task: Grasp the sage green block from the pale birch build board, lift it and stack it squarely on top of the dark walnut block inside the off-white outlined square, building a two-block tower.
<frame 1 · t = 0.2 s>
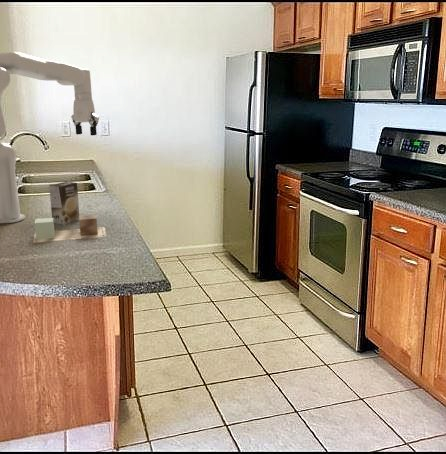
hand: (86, 134, 233), 31 cm above the counter, tool pointing down, fingers open, 9 cm apart
build board: (70, 237, 181), on the counter
coffee box: (66, 223, 200), on the counter
sage block: (45, 236, 179), point 1 cm above the counter, touching build board
walnut block: (88, 232, 183), point 1 cm above the counter, touching build board
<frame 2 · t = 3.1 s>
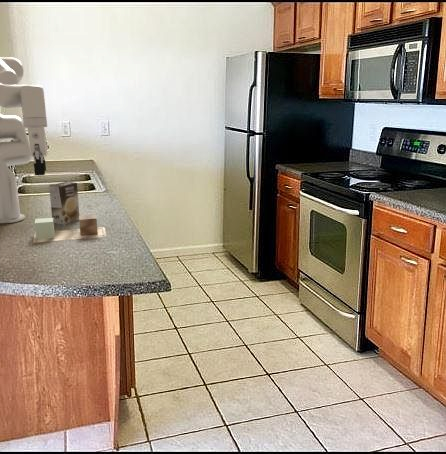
hand: (40, 172, 174), 24 cm above the counter, tool pointing down, fingers open, 9 cm apart
nothing on the counter moved.
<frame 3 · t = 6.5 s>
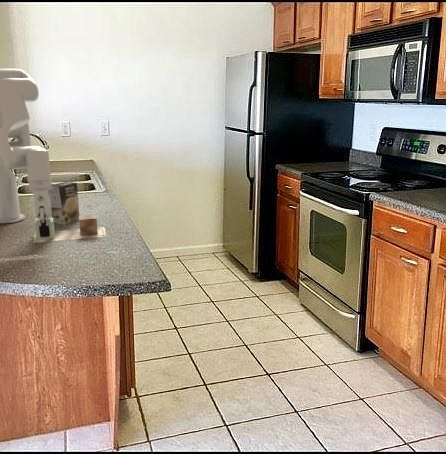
hand: (45, 233, 178), 2 cm above the counter, tool pointing down, fingers closed on sage block, 6 cm apart
sage block: (45, 236, 179), point 1 cm above the counter, touching build board, gripper
everything else where it was.
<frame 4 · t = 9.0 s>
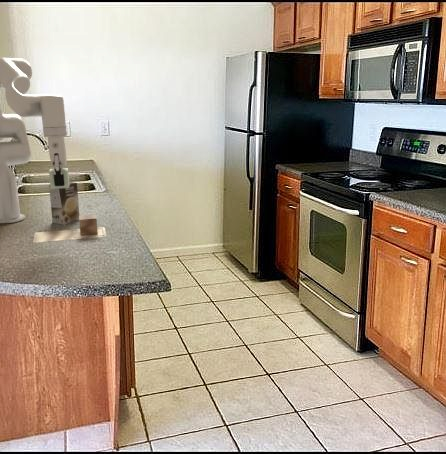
hand: (60, 183, 175), 20 cm above the counter, tool pointing down, fingers closed on sage block, 6 cm apart
sage block: (60, 186, 176), point 19 cm above the counter, touching gripper
everything else where it was.
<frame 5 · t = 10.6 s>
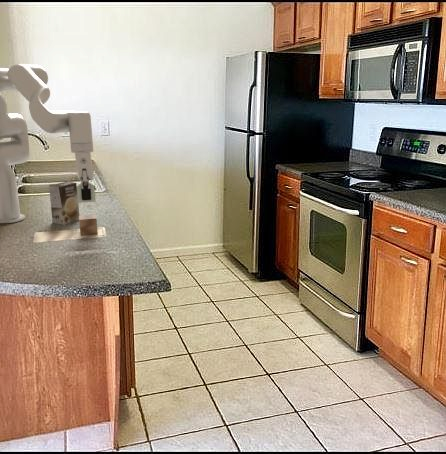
hand: (86, 197, 179), 14 cm above the counter, tool pointing down, fingers closed on sage block, 6 cm apart
sage block: (86, 200, 179), point 13 cm above the counter, touching gripper
everything else where it was.
when the fingers open (9 cm above the counter, at t = 12.0 s): sage block stays where it is, resting on walnut block.
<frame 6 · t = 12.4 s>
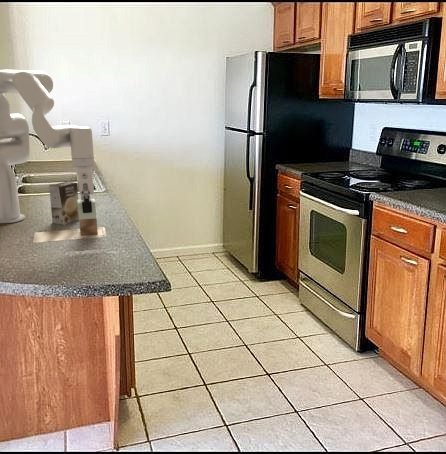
hand: (87, 209, 180), 10 cm above the counter, tool pointing down, fingers open, 9 cm apart
sage block: (87, 217, 181), point 7 cm above the counter, touching walnut block
walnut block: (88, 232, 183), point 1 cm above the counter, touching build board, sage block
everything else where it was.
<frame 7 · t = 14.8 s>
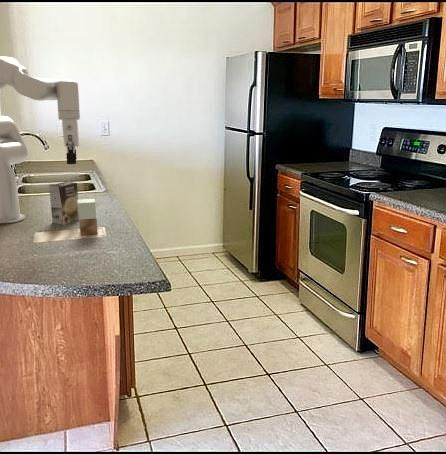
hand: (71, 162, 187), 26 cm above the counter, tool pointing down, fingers open, 9 cm apart
nothing on the counter moved.
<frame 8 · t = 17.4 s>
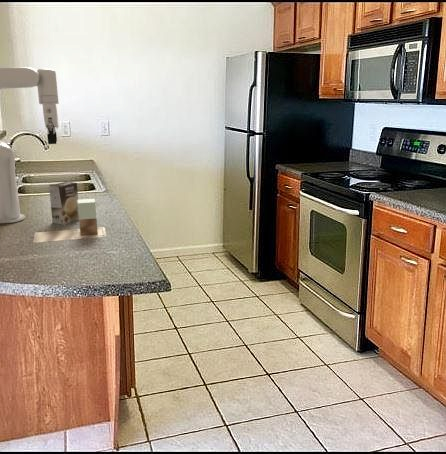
hand: (52, 142, 207), 30 cm above the counter, tool pointing down, fingers open, 9 cm apart
nothing on the counter moved.
at the end: sage block 0.1 cm off-centre on the walnut block, point 6.0 cm above the walnut block's base; sage block tilted 0°; the gripper is holding nothing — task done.
